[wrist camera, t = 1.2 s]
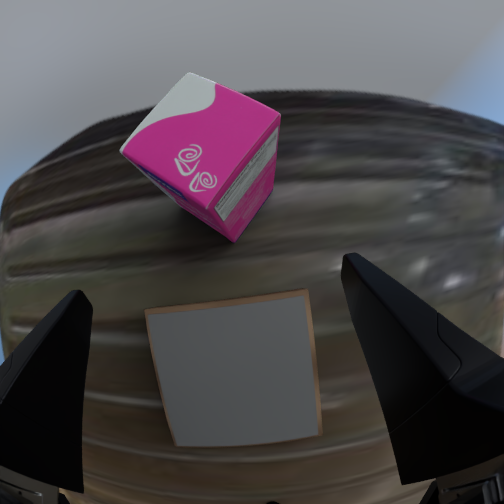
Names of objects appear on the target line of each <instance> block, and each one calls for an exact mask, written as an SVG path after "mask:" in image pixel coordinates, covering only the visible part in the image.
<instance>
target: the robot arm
mask: <svg viewBox="0 0 504 504" xmlns="http://www.w3.org/2000/svg"><path fill="white" fill-rule="evenodd" d="M341 280H342V284H343V288H344V292H345V295H346V299H347V303H348V307H349V311H350V315H351V318H352V322H353V325H354V328H355V330H356V333H357V336H358V339H359V341H360V344H361V347H362V350H363V352H364V355H365V358H366V361H367V364H368V367H369V370H370V373H371V376H372V379H373V382H374V385H375V388H376V391H377V394H378V398H379V401H380V404H381V407H382V411H383V414H384V418H385V421H386V425H387V428H388V432H389V436H390V440H391V443H392V447H393V451H394V455H395V459H396V463H397V467H398V472H399V476H400V480H401V484H402V485H406V484H411V483H416V482H421V481H425V480H429V479H434V478H436V480H435V481H433V482H432V483H431V485H430V486H429V488H428V490H427V492H426V493H425V495H424V497H423V498H422V500H421V501H420V503H419V504H504V358H502V357H500V356H499V355H497V354H496V353H494V352H493V351H491V350H490V349H489V348H487V347H486V346H484V345H483V344H481V343H480V342H478V341H477V340H475V339H474V338H472V337H471V336H470V335H468V334H467V333H465V332H464V331H463V330H461V329H460V328H458V327H457V326H456V325H454V324H453V323H452V322H450V321H449V320H448V319H446V318H445V317H444V316H443V315H441V314H440V313H439V312H438V313H437V311H436V310H435V309H434V308H432V307H431V306H430V305H428V304H427V303H426V302H424V301H423V300H422V299H420V298H419V297H418V296H417V295H415V294H414V293H412V292H411V291H410V290H408V289H407V288H406V287H404V286H403V285H402V284H400V283H399V282H398V281H396V280H395V279H393V278H392V277H391V276H389V275H388V274H386V273H385V272H384V271H382V270H381V269H379V268H378V267H377V266H375V265H374V264H372V263H371V262H369V261H368V260H366V259H365V258H364V257H362V256H361V255H359V254H358V253H349V254H345V255H344V256H343V261H342V269H341ZM92 315H93V307H92V305H91V303H90V302H89V300H88V299H87V297H86V296H85V294H84V293H83V291H81V290H73V291H71V292H69V293H68V294H67V295H66V296H65V297H64V298H63V299H62V300H61V301H60V302H59V303H58V304H57V305H56V306H55V307H54V308H53V309H52V310H51V311H50V312H49V313H48V314H47V315H46V316H45V317H44V318H43V319H42V320H41V321H40V322H39V323H38V324H37V325H36V327H35V328H34V329H33V330H32V331H31V332H30V333H29V334H28V335H27V336H26V337H25V338H24V340H23V341H22V342H21V343H20V344H19V345H18V346H17V347H16V348H15V350H14V351H13V352H12V353H11V354H10V355H9V357H8V358H7V359H6V360H5V361H4V362H3V364H2V365H1V366H0V504H70V503H69V501H68V500H67V498H66V497H65V495H64V494H62V493H59V488H63V489H66V490H70V491H74V492H78V493H84V485H83V469H82V447H81V446H82V417H83V401H84V389H85V379H86V371H87V363H88V356H89V349H90V337H91V325H92ZM267 504H279V503H277V502H269V503H267Z"/></svg>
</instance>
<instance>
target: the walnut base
mask: <svg viewBox="0 0 504 504" xmlns="http://www.w3.org/2000/svg"><path fill="white" fill-rule="evenodd" d="M144 311H145V318H146V324H147V331H148V337H149V342H150V348H151V353H152V358H153V363H154V368H155V373H156V377H157V382H158V386H159V390H160V395H161V399H162V403H163V407H164V410H165V414H166V418H167V421H168V425H169V428H170V432H171V435H172V438H173V442H174V445H175V447H199V448H209V447H238V446H252V445H263V444H272V443H279V442H287V441H293V440H299V439H305V438H310V437H316V436H320V435H323V433H322V418H321V404H320V392H319V381H318V370H317V360H316V351H315V342H314V333H313V325H312V317H311V309H310V301H309V294H308V289H303V288H302V289H295V290H289V291H282V292H276V293H269V294H262V295H255V296H247V297H240V298H232V299H224V300H216V301H208V302H199V303H191V304H181V305H172V306H162V307H154V308H149V309H144Z"/></svg>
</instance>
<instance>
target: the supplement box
mask: <svg viewBox="0 0 504 504" xmlns="http://www.w3.org/2000/svg"><path fill="white" fill-rule="evenodd" d="M280 118H281V115H280V113H278V112H276V111H275V110H273V109H271V108H269V107H267V106H265V105H264V104H262V103H260V102H258V101H256V100H254V99H252V98H249V97H247V96H245V95H243V94H241V93H239V92H237V91H235V90H232V89H230V88H228V87H225V86H223V85H221V84H218V83H216V82H213V81H211V80H208V79H206V78H203V77H201V76H198V75H195V74H193V73H190V72H188V73H186V75H185V76H184V77H183V78H182V79H181V80H180V81H179V82H178V83H177V84H176V85H175V86H174V87H173V88H172V89H171V90H170V91H169V92H168V93H167V95H166V96H165V97H164V98H163V99H162V100H161V101H160V102H159V103H158V104H157V106H156V107H155V108H154V109H153V110H152V111H151V112H150V113H149V114H148V116H147V117H146V118H145V119H144V120H143V121H142V123H141V124H140V125H139V126H138V127H137V128H136V130H135V131H134V132H133V133H132V135H131V136H130V137H129V138H128V139H127V141H126V142H125V143H124V145H123V146H122V147H121V149H120V153H121V154H122V155H123V156H125V157H126V158H127V159H128V160H129V161H130V162H131V163H132V164H133V165H135V166H136V167H137V168H138V169H139V170H140V171H141V172H142V173H143V174H144V175H145V176H147V177H148V178H149V179H150V180H151V181H152V182H153V183H154V184H155V185H156V186H157V187H159V188H160V189H161V190H162V191H163V192H164V193H165V194H167V195H168V196H169V197H170V198H171V199H172V200H173V201H174V202H176V203H177V204H178V205H179V206H180V207H181V208H183V209H185V210H186V211H188V212H190V213H191V214H193V215H194V216H196V217H197V218H198V219H200V220H202V221H203V222H205V223H206V224H207V225H209V226H210V227H212V228H213V229H215V230H216V231H218V232H219V233H221V234H222V235H223V236H225V237H226V238H227V239H229V240H230V241H231V242H233V243H235V242H236V241H237V240H238V238H239V237H240V236H241V234H242V233H243V231H244V230H245V229H246V227H247V226H248V224H249V223H250V222H251V220H252V219H253V217H254V216H255V215H256V213H257V212H258V210H259V209H260V208H261V206H262V205H263V203H264V202H265V201H266V199H267V198H268V196H269V195H270V193H271V192H272V190H273V183H274V174H275V164H276V155H277V145H278V135H279V128H280Z"/></svg>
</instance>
